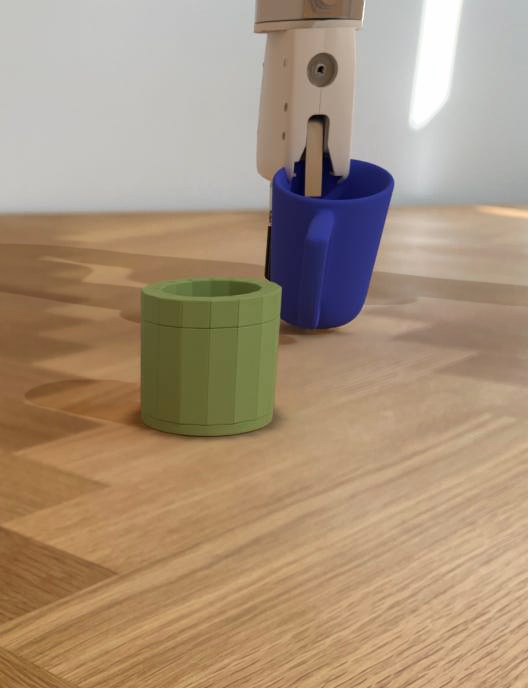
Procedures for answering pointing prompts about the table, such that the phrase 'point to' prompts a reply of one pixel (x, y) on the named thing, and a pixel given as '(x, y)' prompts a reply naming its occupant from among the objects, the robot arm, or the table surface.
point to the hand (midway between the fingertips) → (286, 280)
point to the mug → (327, 243)
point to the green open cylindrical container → (209, 354)
